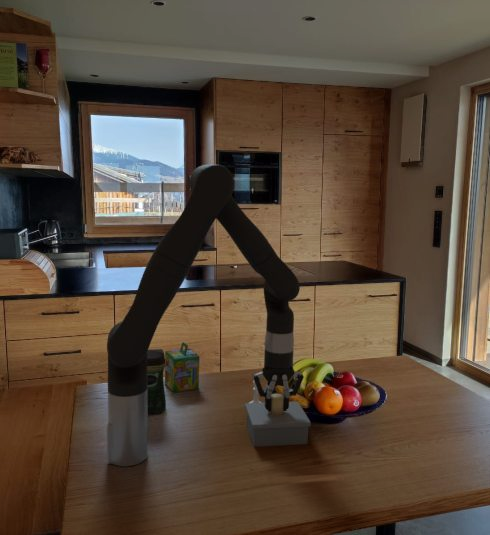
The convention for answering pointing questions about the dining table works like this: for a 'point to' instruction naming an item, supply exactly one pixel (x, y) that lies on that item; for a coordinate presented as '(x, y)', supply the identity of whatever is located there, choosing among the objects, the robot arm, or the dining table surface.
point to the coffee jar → (155, 381)
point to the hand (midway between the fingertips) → (276, 409)
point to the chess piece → (255, 395)
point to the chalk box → (182, 369)
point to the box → (278, 435)
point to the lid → (276, 414)
